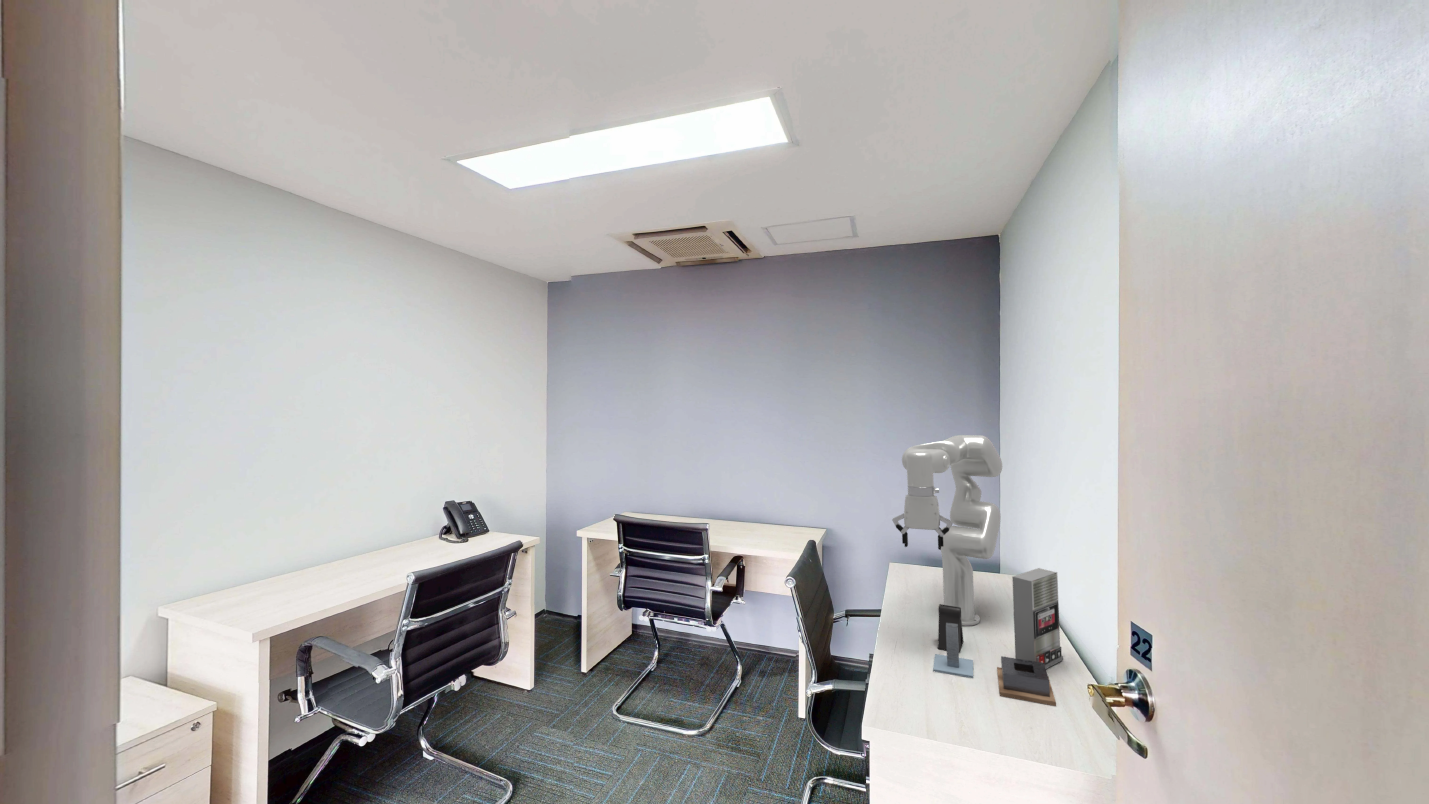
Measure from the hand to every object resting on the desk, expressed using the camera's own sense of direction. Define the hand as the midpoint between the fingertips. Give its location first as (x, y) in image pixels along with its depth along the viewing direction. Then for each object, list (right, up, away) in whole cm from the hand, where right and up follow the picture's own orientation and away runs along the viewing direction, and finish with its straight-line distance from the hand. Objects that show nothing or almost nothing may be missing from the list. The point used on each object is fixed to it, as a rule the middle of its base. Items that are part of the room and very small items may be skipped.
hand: (922, 547), depth 163 cm
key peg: (+3, -29, -14) cm, 33 cm away
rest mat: (+3, -30, -14) cm, 33 cm away
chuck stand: (+16, -29, -26) cm, 42 cm away
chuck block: (+16, -29, -26) cm, 42 cm away
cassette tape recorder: (+28, -29, -13) cm, 43 cm away
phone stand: (+8, -30, -1) cm, 31 cm away
